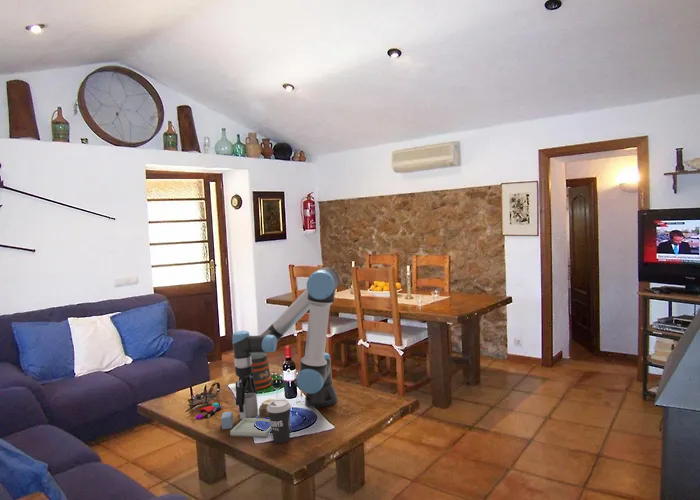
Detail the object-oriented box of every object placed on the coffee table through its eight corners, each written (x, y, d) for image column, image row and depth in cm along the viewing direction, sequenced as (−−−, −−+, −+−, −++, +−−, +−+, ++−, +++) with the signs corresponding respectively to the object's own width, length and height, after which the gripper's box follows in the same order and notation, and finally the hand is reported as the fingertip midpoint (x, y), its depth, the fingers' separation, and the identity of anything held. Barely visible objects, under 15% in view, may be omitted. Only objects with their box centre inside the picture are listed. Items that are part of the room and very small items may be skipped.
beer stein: (232, 387, 264) (228, 350, 262) (251, 378, 276) (248, 343, 275) (259, 392, 254) (255, 353, 252) (277, 382, 266) (274, 346, 264)
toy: (203, 421, 223) (227, 408, 236) (202, 412, 223) (226, 400, 235) (191, 418, 227) (215, 406, 240) (190, 410, 226) (214, 398, 239)
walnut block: (272, 415, 223) (271, 404, 223) (271, 419, 218) (270, 408, 218) (261, 416, 223) (260, 405, 223) (259, 420, 218) (258, 409, 218)
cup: (248, 419, 220) (246, 400, 219) (235, 414, 227) (233, 395, 226) (261, 413, 225) (259, 394, 225) (247, 409, 232) (246, 390, 231)
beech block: (270, 406, 234) (269, 398, 233) (277, 407, 231) (276, 399, 231) (262, 411, 228) (261, 403, 228) (268, 412, 226) (268, 404, 226)
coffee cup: (270, 435, 202) (267, 399, 201) (294, 432, 203) (290, 397, 202) (268, 446, 193) (265, 408, 192) (293, 443, 194) (290, 406, 192)
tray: (278, 423, 214) (278, 418, 213) (266, 437, 201) (266, 432, 201) (244, 422, 217) (243, 418, 217) (230, 436, 205) (230, 431, 205)
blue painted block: (233, 422, 219) (232, 411, 218) (231, 428, 213) (230, 416, 212) (224, 423, 218) (223, 412, 218) (222, 429, 212) (221, 418, 212)
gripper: (246, 358, 236) (250, 404, 238) (224, 373, 214) (229, 424, 216) (260, 358, 234) (265, 404, 236) (240, 373, 213) (245, 424, 215)
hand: (247, 413), depth 226 cm, fingers open, 9 cm apart
